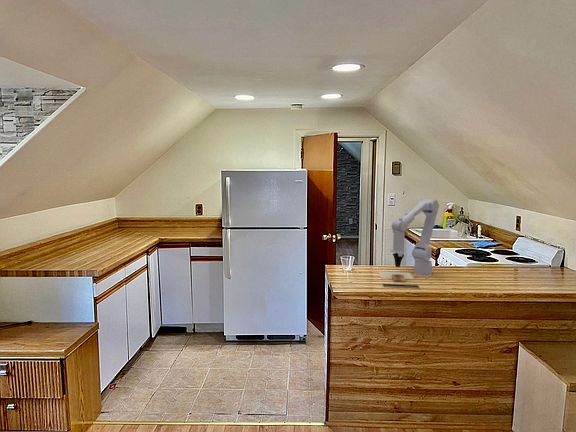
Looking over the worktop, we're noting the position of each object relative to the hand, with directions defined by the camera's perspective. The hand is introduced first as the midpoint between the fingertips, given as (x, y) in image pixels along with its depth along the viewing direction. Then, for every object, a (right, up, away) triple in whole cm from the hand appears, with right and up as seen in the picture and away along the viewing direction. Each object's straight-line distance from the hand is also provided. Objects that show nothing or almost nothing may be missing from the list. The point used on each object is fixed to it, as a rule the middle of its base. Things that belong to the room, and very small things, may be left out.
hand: (397, 266), depth 229 cm
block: (-1, -7, -4) cm, 8 cm away
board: (0, -7, +6) cm, 9 cm away
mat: (-1, -8, -7) cm, 11 cm away
